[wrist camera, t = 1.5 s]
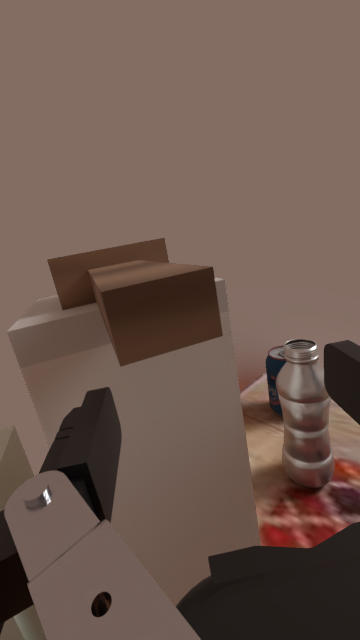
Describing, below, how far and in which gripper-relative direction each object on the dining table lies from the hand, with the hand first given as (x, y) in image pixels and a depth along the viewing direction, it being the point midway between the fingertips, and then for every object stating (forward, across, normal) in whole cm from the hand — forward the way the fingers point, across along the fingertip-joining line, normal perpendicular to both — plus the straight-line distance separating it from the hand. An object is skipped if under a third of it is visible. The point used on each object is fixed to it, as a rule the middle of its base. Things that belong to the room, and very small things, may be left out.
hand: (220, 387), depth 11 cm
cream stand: (+10, +4, +30) cm, 32 cm away
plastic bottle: (+21, -14, +30) cm, 39 cm away
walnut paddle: (+7, +4, -2) cm, 8 cm away
